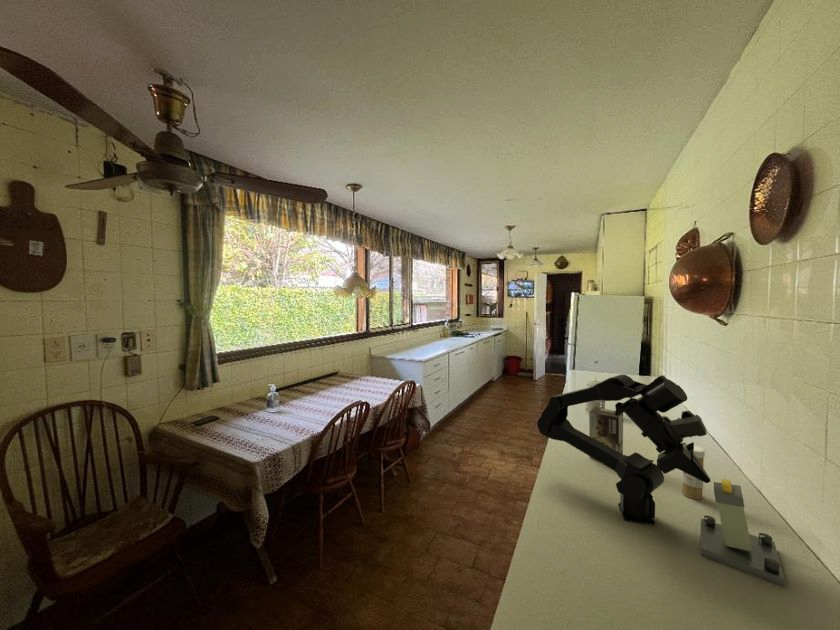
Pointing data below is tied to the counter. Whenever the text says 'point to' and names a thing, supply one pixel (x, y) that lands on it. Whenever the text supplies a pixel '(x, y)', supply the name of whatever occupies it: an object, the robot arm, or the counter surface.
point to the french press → (595, 403)
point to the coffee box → (606, 428)
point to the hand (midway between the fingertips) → (708, 481)
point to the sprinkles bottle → (691, 484)
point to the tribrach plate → (742, 552)
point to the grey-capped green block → (732, 515)
